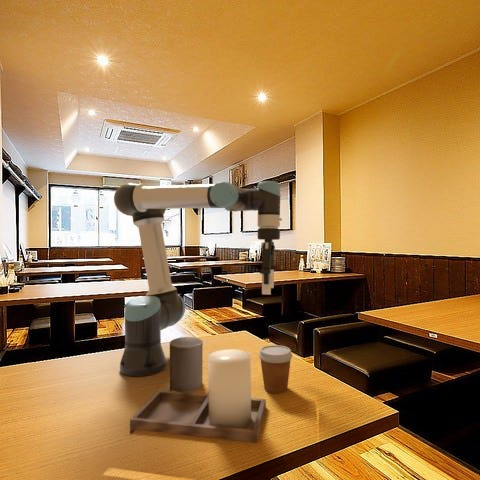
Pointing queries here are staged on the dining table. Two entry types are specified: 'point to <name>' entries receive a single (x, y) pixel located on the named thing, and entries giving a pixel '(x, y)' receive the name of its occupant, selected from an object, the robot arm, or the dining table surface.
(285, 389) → the disposable coffee cup
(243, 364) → the ivory candle
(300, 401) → the dining table surface
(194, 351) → the pillar candle
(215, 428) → the candle tray
